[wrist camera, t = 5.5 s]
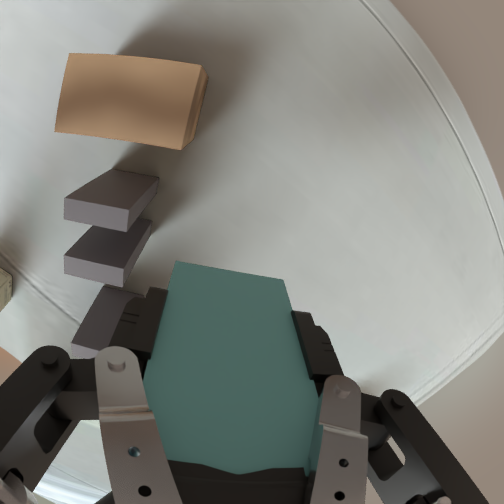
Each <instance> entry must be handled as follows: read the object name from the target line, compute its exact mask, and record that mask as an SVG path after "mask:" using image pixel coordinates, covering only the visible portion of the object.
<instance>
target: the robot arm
mask: <svg viewBox="0 0 504 504" xmlns="http://www.w3.org/2000/svg"><path fill="white" fill-rule="evenodd" d="M167 295H168V290H165V289H160V288H155V287H150V288H149V290H148V293H147V296H146V298H145V299H144V298H139V297H134V298H133V299H131V300H130V301H129V302H127V303H126V305H125V308H124V310H123V313H122V315H121V317H120V320H119V321H118V324H117V326H116V329H115V331H114V333H113V336H112V338H111V341H110V343H109V345H108V347H107V348H104V349H102V350H101V351H100V352H98V354H97V355H96V357H94V358H90V359H70V357H69V355H68V353H67V352H66V351H65V350H63V349H62V348H60V347H57V346H43V347H40V348H38V349H37V350H35V351H34V352H33V353H32V354H31V355H30V356H29V357H28V358H27V359H26V360H25V361H24V362H23V363H22V364H21V365H20V366H19V367H18V368H17V369H16V370H15V371H14V372H13V373H12V374H11V375H10V376H9V377H8V379H7V380H6V381H5V382H4V383H3V384H2V385H1V386H0V504H38V502H37V499H36V498H35V496H34V495H33V494H32V492H33V491H34V489H35V487H36V486H37V484H38V483H39V481H40V480H41V478H42V477H43V475H44V474H45V472H46V470H47V469H48V467H49V466H50V464H51V463H52V461H53V460H54V458H55V457H56V455H57V454H58V452H59V451H60V449H61V448H62V446H63V445H64V443H65V442H66V440H67V439H68V438H69V436H70V435H71V433H72V432H73V430H74V429H75V427H76V426H77V424H78V423H79V422H80V420H99V422H100V429H101V436H102V442H103V448H104V454H105V459H106V464H107V469H108V474H109V479H110V484H111V488H112V491H111V492H110V493H108V494H107V495H106V496H104V497H103V498H101V499H100V500H99V501H97V502H96V503H95V504H365V495H366V482H367V477H368V479H369V480H370V482H371V483H372V485H373V487H374V488H375V490H376V492H377V493H378V495H379V497H380V498H381V500H382V501H383V503H384V504H489V503H488V501H487V500H486V499H485V497H484V496H483V494H482V493H481V492H480V490H479V489H478V488H477V486H476V485H475V483H474V482H473V481H472V480H471V478H470V477H469V475H468V474H467V473H466V471H465V470H464V469H463V467H462V466H461V465H460V463H459V462H458V461H457V459H456V458H455V457H454V455H453V454H452V453H451V451H450V450H449V449H448V447H447V446H446V445H445V443H444V442H443V441H442V440H441V438H440V437H439V436H438V434H437V433H436V432H435V430H434V429H433V428H432V427H431V425H430V424H429V423H428V421H427V420H426V419H425V418H424V416H423V415H422V414H421V412H420V411H419V410H418V409H417V407H416V406H415V405H414V403H413V402H412V401H411V400H410V398H409V397H408V396H407V395H406V394H404V393H403V392H401V391H398V390H394V389H389V390H386V391H384V392H383V394H382V395H381V396H380V397H376V396H372V395H368V394H364V393H361V390H360V388H359V386H358V385H357V383H356V382H354V381H353V380H352V379H350V378H348V377H346V376H344V374H343V371H342V369H341V366H340V364H339V361H338V359H337V356H336V354H335V352H334V348H333V346H332V345H331V341H330V338H329V336H328V334H327V333H326V332H325V331H324V330H323V329H322V328H321V326H316V325H315V324H314V321H313V318H312V316H311V314H310V313H308V312H300V311H293V310H292V311H291V316H292V319H293V323H294V326H295V329H296V333H297V336H298V340H299V343H300V347H301V350H302V354H303V357H304V361H305V365H306V368H307V372H308V375H309V379H310V380H314V384H315V387H316V391H317V394H318V398H319V399H318V405H317V412H316V417H315V423H314V429H313V434H312V440H311V445H310V450H309V455H308V459H310V460H311V468H310V473H309V477H308V476H305V471H304V467H299V468H270V469H265V470H261V471H256V472H251V473H245V474H234V473H230V472H227V471H223V470H220V469H216V468H213V467H210V466H207V465H203V464H197V463H189V462H181V461H174V460H168V459H167V458H166V455H165V451H164V448H163V445H162V442H161V438H160V435H159V432H158V428H157V425H156V421H155V417H154V414H153V412H152V410H151V409H149V407H148V403H147V399H146V395H145V390H144V386H143V378H144V374H145V370H146V366H147V362H148V359H149V360H151V356H152V352H153V348H154V344H155V340H156V336H157V333H158V329H159V325H160V321H161V317H162V314H163V310H164V306H165V303H166V299H167ZM391 436H392V438H393V439H394V441H395V442H396V443H397V445H398V446H399V448H400V449H401V451H402V452H403V454H404V456H405V459H406V460H405V465H403V464H402V463H401V461H400V460H399V458H398V457H397V455H396V454H395V452H394V451H393V449H392V448H391V447H390V445H389V444H388V442H387V441H388V439H389V438H390V437H391Z"/></svg>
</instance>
